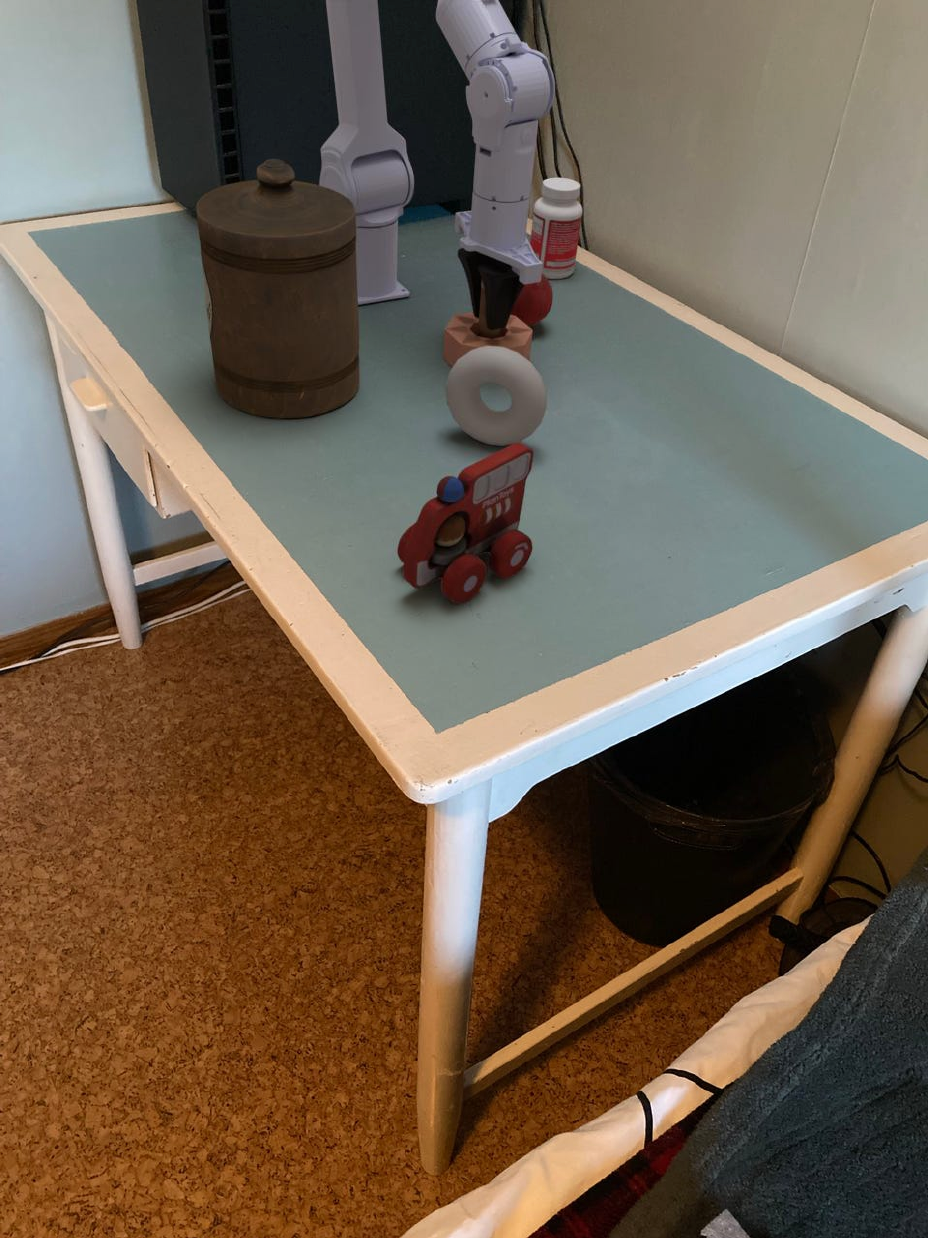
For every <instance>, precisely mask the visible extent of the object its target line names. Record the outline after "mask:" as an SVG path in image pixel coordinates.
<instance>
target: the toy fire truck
mask: <svg viewBox="0 0 928 1238" xmlns="http://www.w3.org/2000/svg"><path fill="white" fill-rule="evenodd" d="M533 459H534V450H533V449H532V448H530V447H528V446H527V445H525V444H523V443H521V442H517V443H514V444H510V445H507V446H506V447H505V448H502V449H500V450H499V451H496V452H495V453H492V454H490V455H489V456H487V457H485V458H483V459H481V460H478V461H476V462H474V463H472V464H470V465H469V466H467V467H465V468H463V469H462V470H461V471H460V472H459V473H458V476H457V477H456V476H454V475H448V476H444V477H443V478H441V479H440V480H439V481H438V483H437V486H436V496H435V497H433V498H431V499H429V500H428V501H426V502H425V504H424V505H423V506H422V508H421V509H420V512H419V514H418V517H417V519H416V522H414V523H413V524H412V525H410V526H409V527H408V528H407V529H406V530H405V532H404V533H402V535H401V536H400V539H399V541H398V544H397V545H398V546H397V550H396V551H397V556H398V559H399V560H400V561H401V563H403V572H402V576H403V578H404V580H405V581H406V582H407V583H408V584H409V585H410V587H411V586H412V588H414V589H416V590H417V589H422V588H424V587H426V586H428V585H430V584H431V583H433V582H435V581H436V580H439V579H441V580H440V590H441V592H442V594H443V595H444V596H445V597H447V598H448V599H449V600H451V601H452V602H453V603H456V604H461V603H465V602H468V601H469V600H471V599H472V598H473V597H475V596H476V594H477V593H479V591H480V590H481V589H482V587H483V585H484V583H485V581H486V578H487V574H488V573H487V572H488V568H489V570H490V571H491V572H492V573H494V574H495V575H496V576H498V577H499V578H502V579H509V578H511V577H513V576H515V575H517V574H518V573H520V571H521V570H522V569H524V567H525V566H526V565H527V563H528V561H529V560H530V557H531V555H532V551H533V542H532V539H531V538H530V536H529V535H527V534H525V532H523V531H521V530H519V525H520V521H521V515H522V508H523V502H524V498H525V497H524V496H525V490H526V489H525V487H526V481H527V479H528V476H529V475H530V473H531V471H532V467H533ZM481 554H489V555H488V558H487V565H488V568H487V565H486V563H485V562H484V561H483V559H481V558H479V557H478V556H480V555H481Z"/></svg>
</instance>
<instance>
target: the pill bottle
mask: <svg viewBox="0 0 928 1238" xmlns="http://www.w3.org/2000/svg"><path fill="white" fill-rule="evenodd" d="M541 186H542V187H541V195H542V197H540V198H538V199H537V200H536V201H535V203H534V206H533V211H532V214H533V215H532V222H531V231H530V232H531V233H530V241H529V243H530V245H531V247H532V249H533V251H534V253H535V255H536V257H537V258H538V259H539V260H540V261H541V262H542V263H543V267H542V274H543V275H544V276H545V277H546V278H547V279H549V280H560V279H564V278H568V277H570V276H571V275H572V274H573V273H574V271H575V268H576V260H577V254H578V246H579V239H580V232H581V225H582V218H583V206H582V205H581V204H580V202H579V201H578V200H577V199H579V198H580V197H579V196H580V195H581V194H580V193H581V192H580V191H581V184H580V182H579V181H576V180H574V179H571V178H566V177H565V178H564V177H550V178H547V179H544V180H543V181H542V185H541Z"/></svg>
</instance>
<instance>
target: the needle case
mask: <svg viewBox="0 0 928 1238" xmlns="http://www.w3.org/2000/svg"><path fill="white" fill-rule="evenodd" d="M499 334H500V329H495V330H489V329H488V328H487V324H486V298H485V290H484V285H483V281H481V299H480V311H479V323H478V335H477V336H479V337H484V338H489V339H494V338H499Z"/></svg>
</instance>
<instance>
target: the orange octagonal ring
mask: <svg viewBox="0 0 928 1238" xmlns="http://www.w3.org/2000/svg"><path fill="white" fill-rule="evenodd" d="M478 323H479V318H476V317H475V316H474V314H473V311H469V312H464V313H457V314H454V315H453V317H452V318H451V319H450V321H449V323H448V324H447V325H446V326H445V328H444V336H443V338H444V339H443V351H442V357H443V358H442V359H443V360H444V361H445V362H446V363H447V364H448V365H449V366H450V367H451V369H452V368H453V366H454V365H455V363H456V362H457V360H458V359H459V358H461V357H462V356H464V355H465V354H467V353H468V352H469V351H471V350H473V349H476V348H480V347H484V346H497V347H505V348H507V349H510V350H512V351H515V352H517V353H519V354H521V355H522V356H523V357H524V358H526V359H527V360H528V361H530V354H531V349H532V348H531V347H532V340H533V331H534V330H533V329H532V328H531V327H528V326H527V325H526V324H525V323H523V322H522V321H521V320H520V319H519V318H517V317H516V316H513V315H510V318H509V320H508V323H507V325H506V327H505V328H500V334H499V338H494V339H489V338H484V337H479V336H477V335H478Z"/></svg>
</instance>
